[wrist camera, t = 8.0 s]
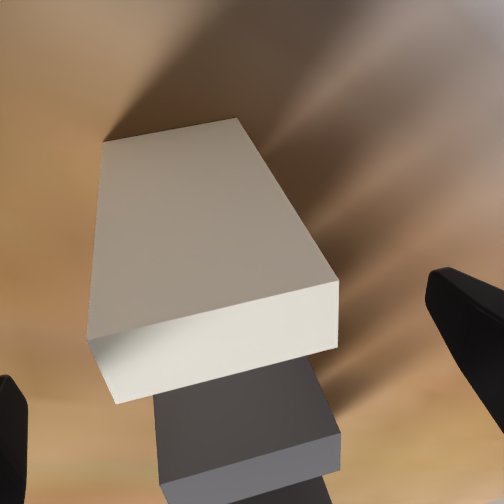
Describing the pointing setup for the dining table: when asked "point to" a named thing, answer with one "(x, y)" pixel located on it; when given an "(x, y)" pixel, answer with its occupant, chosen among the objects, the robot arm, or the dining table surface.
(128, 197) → the domino head
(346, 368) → the dining table surface
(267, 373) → the domino
